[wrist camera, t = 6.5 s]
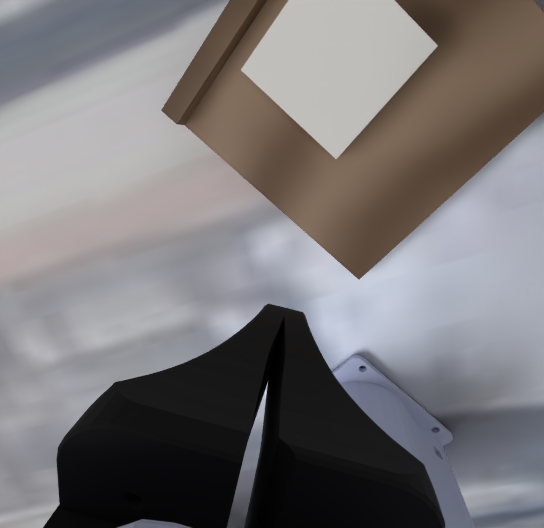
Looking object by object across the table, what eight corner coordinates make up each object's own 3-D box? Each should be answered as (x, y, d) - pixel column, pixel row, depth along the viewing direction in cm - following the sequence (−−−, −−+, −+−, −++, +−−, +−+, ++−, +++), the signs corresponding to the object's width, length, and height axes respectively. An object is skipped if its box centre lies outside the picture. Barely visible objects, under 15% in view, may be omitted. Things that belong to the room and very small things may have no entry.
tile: (437, 45, 14) (332, -65, 13) (336, 159, 16) (240, 70, 15) (427, 54, 15) (331, -45, 15) (335, 157, 18) (247, 75, 17)
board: (573, 72, 16) (611, 62, 14) (357, 272, 21) (360, 286, 19) (359, -167, 14) (365, -218, 12) (178, 113, 19) (161, 110, 17)
